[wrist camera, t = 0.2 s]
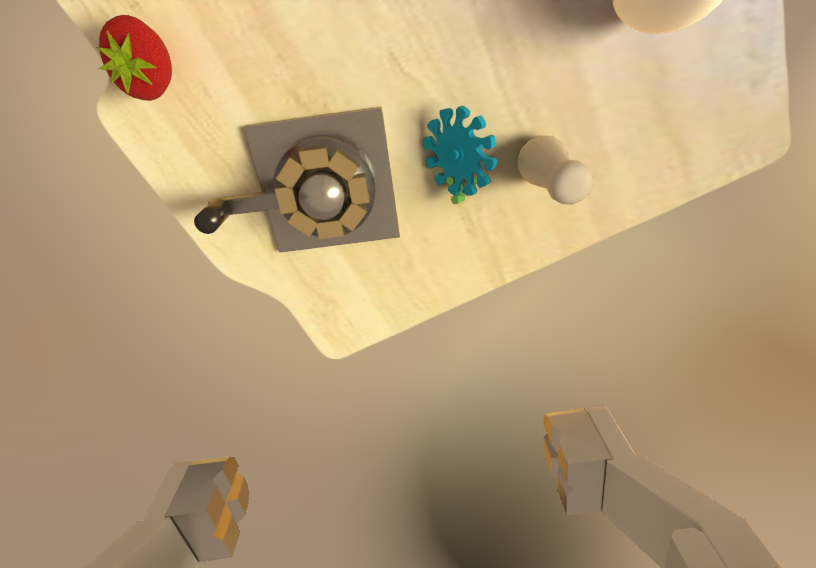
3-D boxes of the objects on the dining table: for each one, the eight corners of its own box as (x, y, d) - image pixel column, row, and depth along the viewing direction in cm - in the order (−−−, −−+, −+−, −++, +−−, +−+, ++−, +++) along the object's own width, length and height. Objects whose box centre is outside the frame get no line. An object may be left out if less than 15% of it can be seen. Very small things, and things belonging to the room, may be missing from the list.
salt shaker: (564, 133, 54) (611, 157, 43) (554, 180, 57) (596, 215, 46) (516, 130, 54) (550, 155, 43) (509, 178, 57) (539, 213, 45)
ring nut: (200, 161, 51) (177, 176, 46) (360, 140, 51) (356, 152, 45) (228, 245, 56) (210, 267, 51) (374, 226, 56) (373, 247, 50)
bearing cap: (245, 125, 53) (229, 135, 47) (381, 107, 52) (380, 114, 47) (280, 250, 60) (270, 270, 55) (399, 234, 60) (400, 253, 55)
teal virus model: (422, 98, 50) (497, 120, 45) (455, 91, 54) (528, 109, 49) (416, 190, 57) (481, 218, 52) (446, 178, 60) (509, 203, 55)
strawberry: (176, 14, 47) (127, 9, 38) (198, 92, 51) (158, 103, 42) (120, 19, 47) (58, 15, 38) (146, 97, 51) (95, 109, 42)
